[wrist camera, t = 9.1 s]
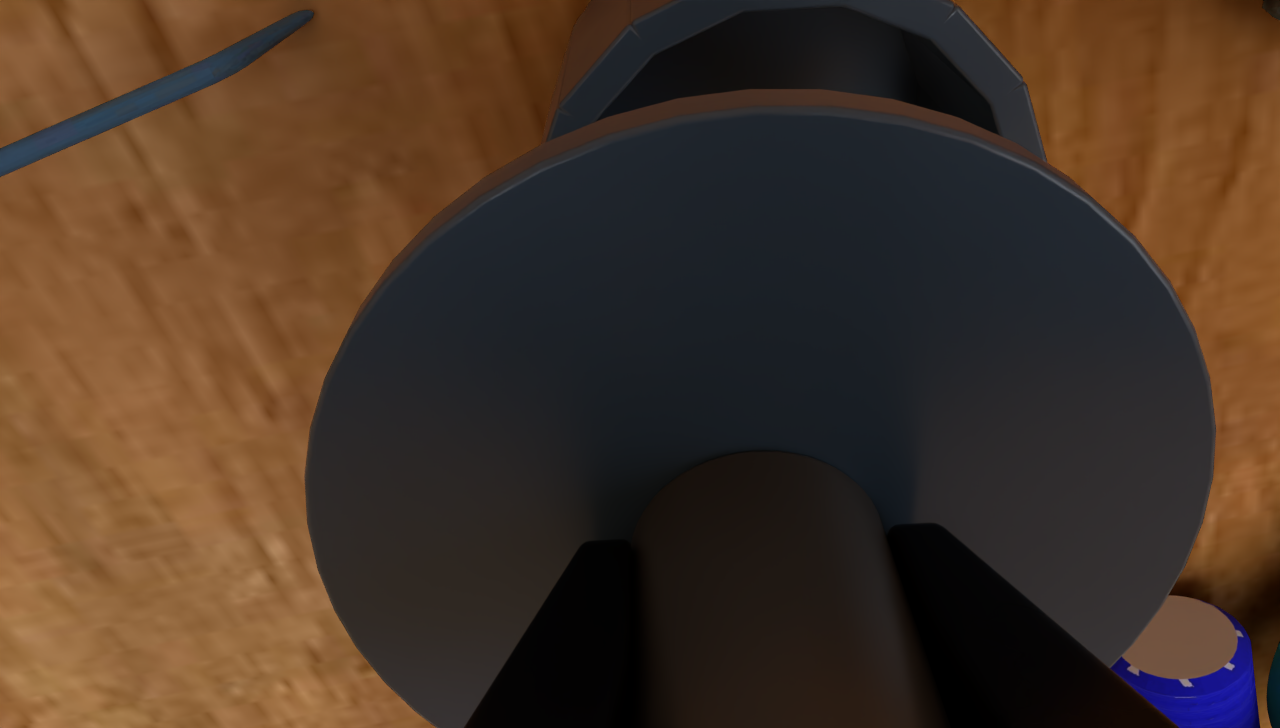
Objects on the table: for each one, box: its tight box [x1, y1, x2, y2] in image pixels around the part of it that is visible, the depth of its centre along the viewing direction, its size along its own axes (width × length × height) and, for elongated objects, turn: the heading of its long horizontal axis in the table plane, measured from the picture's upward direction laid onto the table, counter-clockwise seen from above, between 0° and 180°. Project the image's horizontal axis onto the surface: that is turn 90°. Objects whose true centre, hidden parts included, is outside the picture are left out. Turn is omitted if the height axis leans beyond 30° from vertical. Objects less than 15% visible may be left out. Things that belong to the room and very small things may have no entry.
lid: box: [305, 89, 1216, 728], centre depth 7 cm, size 8×8×5 cm
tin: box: [541, 0, 1047, 162], centre depth 16 cm, size 7×7×5 cm
